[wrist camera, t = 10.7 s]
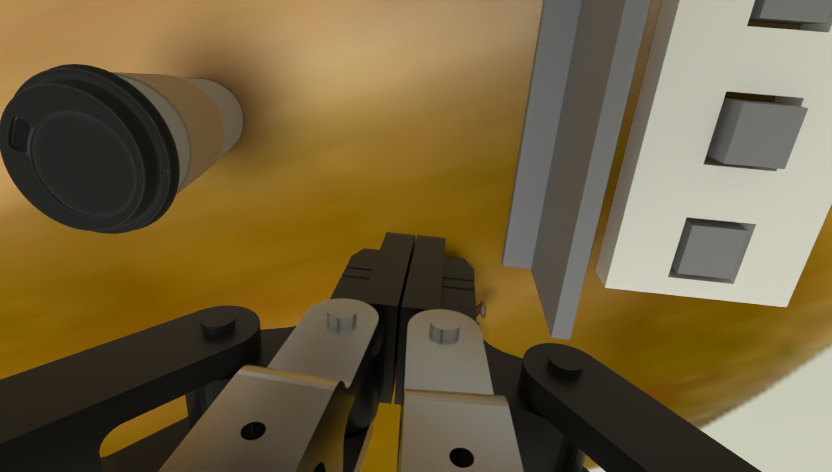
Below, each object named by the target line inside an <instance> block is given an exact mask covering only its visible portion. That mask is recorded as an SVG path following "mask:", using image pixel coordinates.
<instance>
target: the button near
mask: <svg viewBox="0 0 832 472" xmlns="http://www.w3.org/2000/svg"><path fill="white" fill-rule="evenodd" d="M831 8H832V0H755V2H754V5H753V9H752V12H751V15H750V18H749V21H760V22H773V23H786V24H815V23H826V22H827V19H828V16H829V13H830V11H831Z"/></svg>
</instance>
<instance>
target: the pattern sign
mask: <svg viewBox="0 0 832 472" xmlns="http://www.w3.org/2000/svg"><path fill="white" fill-rule="evenodd" d="M650 3H651V0H543V6H542V12H541V18H540V25H539V31H538V37H537V43H536V50H535V56H534V62H533V68H532V74H531V81H530V87H529V93H528V99H527V106H526V112H525V118H524V124H523V131H522V137H521V143H520V149H519V155H518V162H517V168H516V174H515V180H514V187H513V193H512V199H511V205H510V212H509V218H508V224H507V230H506V236H505V243H504V249H503V255H502V266H508V267H517V268H527V269H531V270H532V274H533V277H534V281H535V284H536V287H537V291H538V294H539V298H540V301H541V304H542V308H543V311H544V315H545V318H546V321H547V325H548V328H549V332H550V335H551V338H560V339H569V340H570V337H571V333H572V329H573V324H574V320H575V316H576V312H577V308H578V304H579V299H580V295H581V291H582V287H583V283H584V279H585V274H586V270H587V266H588V262H589V258H590V253H591V249H592V245H593V241H594V237H595V233H596V228H597V224H598V220H599V216H600V212H601V207H602V203H603V199H604V195H605V191H606V187H607V182H608V178H609V174H610V170H611V166H612V162H613V157H614V153H615V149H616V145H617V141H618V136H619V132H620V128H621V124H622V120H623V116H624V111H625V107H626V103H627V99H628V95H629V90H630V86H631V82H632V78H633V74H634V70H635V65H636V61H637V57H638V53H639V49H640V44H641V40H642V36H643V32H644V28H645V24H646V19H647V15H648V11H649V7H650Z"/></svg>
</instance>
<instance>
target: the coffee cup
mask: <svg viewBox="0 0 832 472" xmlns="http://www.w3.org/2000/svg"><path fill="white" fill-rule="evenodd" d="M242 128H243V112H242V109H241V106H240V104H239V102H238V100H237V99H236V97H235V96H234V95H233V94H232V93H231V92H230V91H229V90H228V89H226V88H225V87H223V86H222V85H220V84H218V83H216V82H213V81H211V80H206V79H196V78H179V77H175V76H170V75H158V74H137V73H116V72H109V71H106V70H103V69H100V68H97V67H93V66H88V65H79V64H70V65H62V66H57V67H54V68H51V69H49V70H46V71H43V72H41V73H38V74H36V75H35V76H33V77H31V78H30V79H28V80H27V81H26V82H25V83H24V84H23V85H22V86H21V87H20V88H19V90H18V91H17V92H16V94H15V95H14V97H13V99H12V100H11V101H10V102H9V103H8V105H7V106H6V108H5V110H4V112H3V114H2V117H1V120H0V151H1V155H2V159H3V161H4V164H5V167H6V169H7V171H8V173H9V175H10V177H11V179H12V180H13V182H14V183H15V185H16V186H17V188H18V189H19V190H20V192H21V193H22V194H23V195H24V196H25V198H26V199H27V200H28V201H29V202H30V203H31V204H32V205H34V206H35V207H36V208H37V209H38V210H40V211H41V212H42V213H44V214H45V215H47V216H48V217H50V218H51V219H53V220H55V221H57V222H59V223H61V224H64V225H66V226H69V227H72V228H76V229H80V230H87V231H93V232H99V233H107V234H118V233H125V232H130V231H133V230H137V229H140V228H143V227H146V226H148V225H150V224H152V223H154V222H155V221H157V220H158V219H159V218H160V217H161V216H163V215H164V213H165V212H166V211H167V210H168V209H169V207H170V206H171V204H172V202H173V200H174V198H175V196H176V195H177V194H178V193H179V192H180V191H182V190H183V189H184V188H185V187H187V186H188V185H189V184H190V183H192V182H193V181H194V180H195V179H197V178H198V177H199V176H200V175H202V174H203V173H204V172H205V171H207V170H208V169H209V168H210V167H211V166H212V165H213V164H214V163H215V161H216V160H217V159H218V158H220V157H221V156H222V155H223V154H225V153H226V152H227V151H228V150H230V149H231V148H232V147H233V146H234V145H235V144H236V142H237V141H238V139H239V138H240V135H241V133H242Z"/></svg>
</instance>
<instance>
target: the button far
mask: <svg viewBox="0 0 832 472" xmlns="http://www.w3.org/2000/svg"><path fill="white" fill-rule="evenodd" d="M747 234H748V230H747V229H745V228H744V227H742V226H741V225H739V224H738V223H736V222H729V221H719V220H709V219H699V218H688V217H687V218H686V221H685V224H684V227H683V231H682V234H681V237H680V240H679V243H678V246H677V250H676V253H675V256H674V259H673V262H672V265H671V267H672V268H673V269H674V270H675V271H676V272H677V273H678V274H688V275H697V276H707V277H716V278H726V279H731V277H732V274H733V272H734V269H735V266H736V264H737V261H738V258H739V256H740V253H741V250H742V247H743V245H744V242H745V239H746V237H747Z"/></svg>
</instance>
